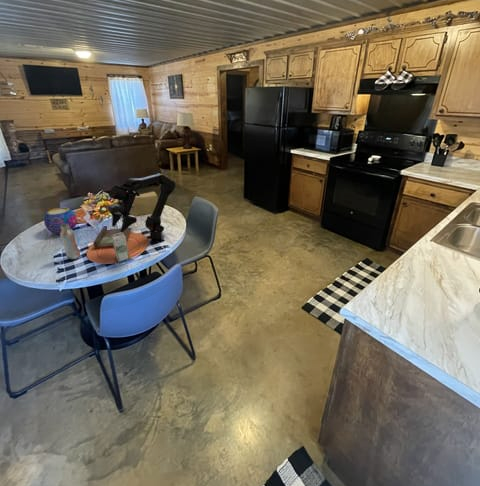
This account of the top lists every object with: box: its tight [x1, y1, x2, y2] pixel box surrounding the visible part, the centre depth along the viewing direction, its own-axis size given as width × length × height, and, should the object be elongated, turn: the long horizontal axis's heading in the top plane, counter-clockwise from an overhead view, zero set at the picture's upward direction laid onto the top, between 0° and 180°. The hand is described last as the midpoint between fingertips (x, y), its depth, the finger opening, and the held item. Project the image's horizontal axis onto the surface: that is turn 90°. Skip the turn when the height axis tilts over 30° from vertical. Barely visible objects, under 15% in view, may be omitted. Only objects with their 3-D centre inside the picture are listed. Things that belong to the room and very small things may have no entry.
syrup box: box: [111, 232, 130, 263], centre depth 140 cm, size 6×6×14 cm
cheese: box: [130, 191, 159, 217], centre depth 195 cm, size 22×10×15 cm, turn 120°
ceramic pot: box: [43, 206, 78, 235], centre depth 169 cm, size 18×18×15 cm
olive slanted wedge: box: [92, 225, 132, 250], centre depth 162 cm, size 16×22×4 cm
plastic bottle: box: [59, 224, 81, 261], centre depth 140 cm, size 6×7×20 cm
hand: (117, 229), depth 139 cm, fingers open, 9 cm apart
